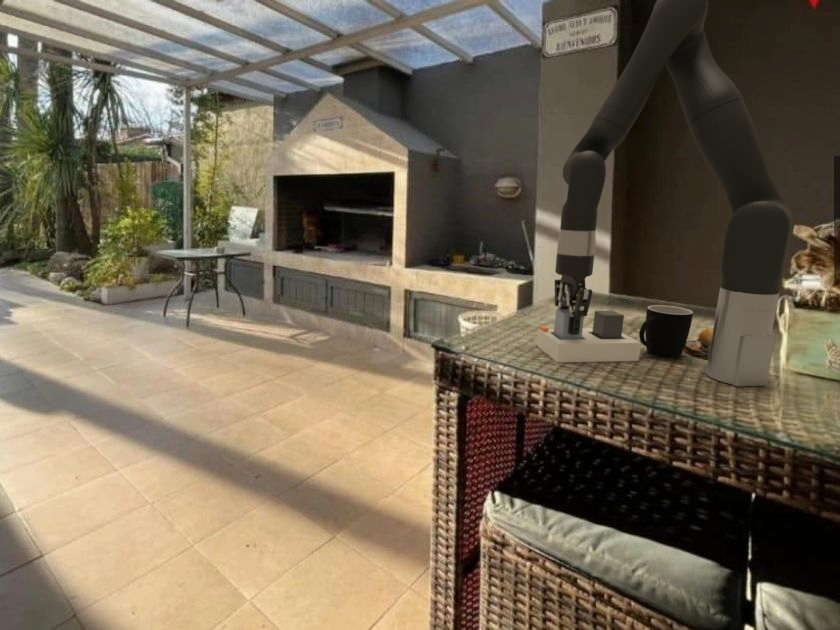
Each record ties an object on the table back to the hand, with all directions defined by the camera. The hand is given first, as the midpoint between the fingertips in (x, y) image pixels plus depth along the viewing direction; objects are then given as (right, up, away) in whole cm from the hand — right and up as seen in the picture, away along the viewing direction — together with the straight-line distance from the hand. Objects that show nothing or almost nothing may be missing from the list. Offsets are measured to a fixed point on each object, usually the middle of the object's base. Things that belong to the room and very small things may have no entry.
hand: (568, 330), depth 107 cm
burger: (+33, -6, +4) cm, 34 cm away
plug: (0, -4, +1) cm, 4 cm away
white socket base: (+4, -5, +2) cm, 7 cm away
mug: (+20, -6, +2) cm, 21 cm away
